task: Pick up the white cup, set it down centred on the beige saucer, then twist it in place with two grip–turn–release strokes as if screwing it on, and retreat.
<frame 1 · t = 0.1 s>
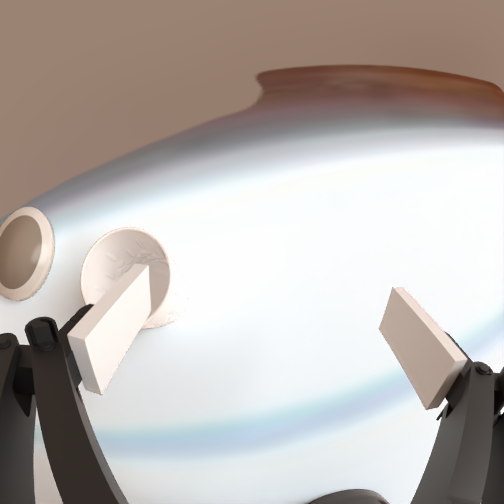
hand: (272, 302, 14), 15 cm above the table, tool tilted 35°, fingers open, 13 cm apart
beige saucer: (22, 254, 29), on the table
white cup: (158, 295, 29), on the table
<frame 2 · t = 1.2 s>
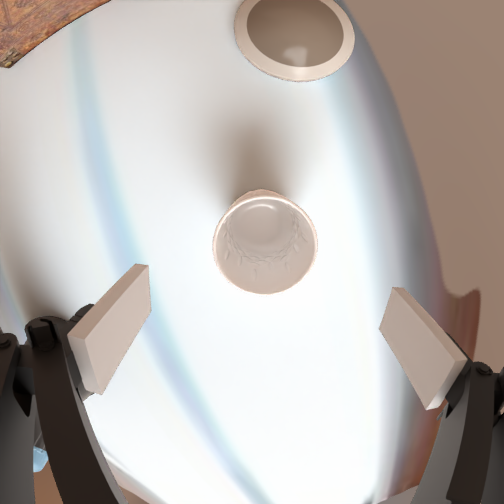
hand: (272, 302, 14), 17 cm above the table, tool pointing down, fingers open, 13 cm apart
beige saucer: (294, 32, 23), on the table
white cup: (260, 219, 31), on the table
book: (70, 4, 20), on the table
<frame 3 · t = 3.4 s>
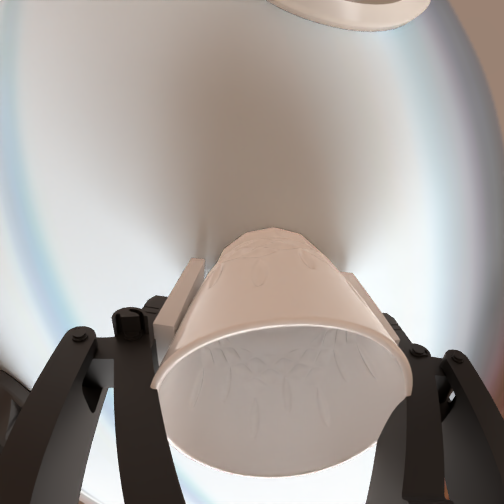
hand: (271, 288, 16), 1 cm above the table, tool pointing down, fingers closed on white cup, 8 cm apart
white cup: (270, 281, 17), on the table, touching gripper
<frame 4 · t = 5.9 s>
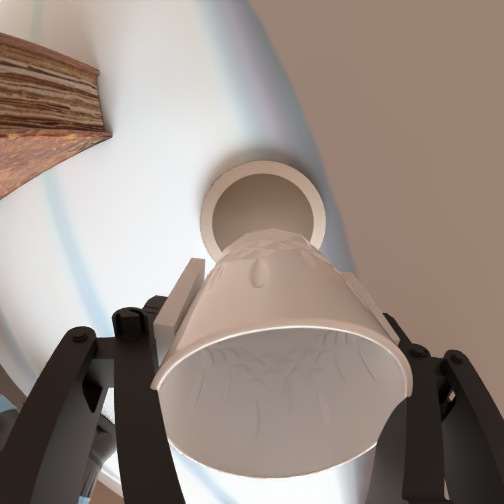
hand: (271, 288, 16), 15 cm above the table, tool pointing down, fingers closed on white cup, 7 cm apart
beige saucer: (262, 221, 30), on the table
white cup: (270, 282, 17), point 15 cm above the table, touching gripper
book: (36, 143, 27), on the table
when the fingers open (4 cm above the table, at t = 8.4 s): white cup drops 2 cm, resting on beige saucer.
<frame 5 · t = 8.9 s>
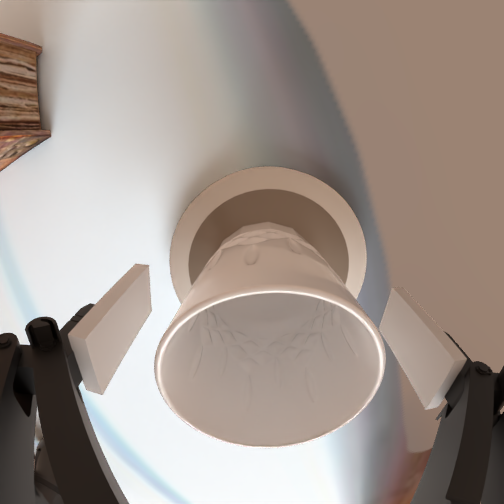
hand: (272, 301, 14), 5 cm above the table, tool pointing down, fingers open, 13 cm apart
beige saucer: (268, 262, 19), on the table
white cup: (265, 272, 18), point 1 cm above the table, touching beige saucer
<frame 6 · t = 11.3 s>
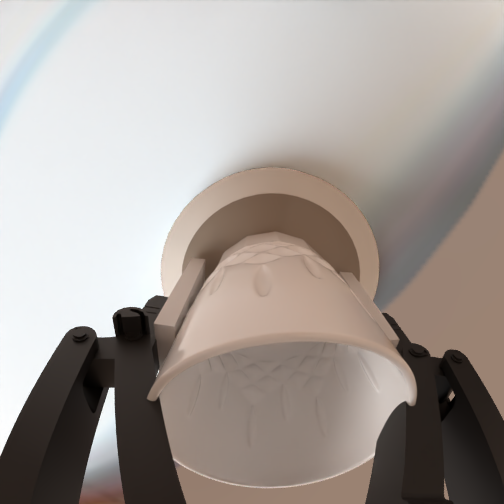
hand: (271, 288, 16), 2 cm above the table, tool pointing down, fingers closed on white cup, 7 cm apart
beige saucer: (271, 274, 17), on the table
white cup: (270, 286, 16), point 1 cm above the table, touching gripper
when the fingers open (2 cm above the table, at t = 14.1 s): white cup stays where it is, resting on beige saucer.
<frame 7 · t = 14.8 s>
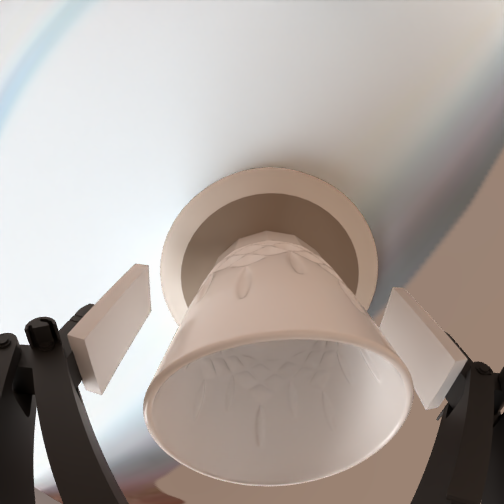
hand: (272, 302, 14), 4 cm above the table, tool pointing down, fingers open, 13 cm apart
beige saucer: (269, 274, 18), on the table
white cup: (269, 285, 16), point 1 cm above the table, touching beige saucer
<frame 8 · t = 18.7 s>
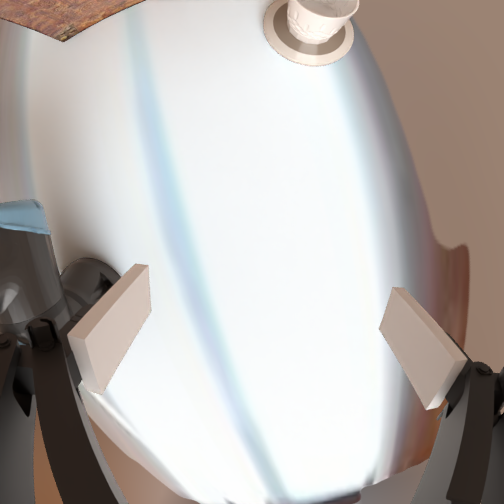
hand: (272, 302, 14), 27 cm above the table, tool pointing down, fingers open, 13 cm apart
beige saucer: (308, 29, 30), on the table
white cup: (310, 26, 29), point 1 cm above the table, touching beige saucer
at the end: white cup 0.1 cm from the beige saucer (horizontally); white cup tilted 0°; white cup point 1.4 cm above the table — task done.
